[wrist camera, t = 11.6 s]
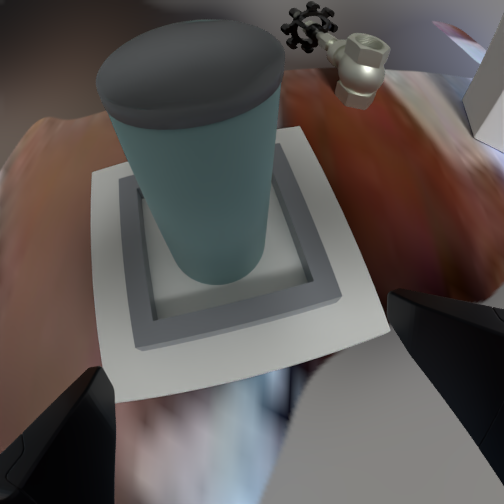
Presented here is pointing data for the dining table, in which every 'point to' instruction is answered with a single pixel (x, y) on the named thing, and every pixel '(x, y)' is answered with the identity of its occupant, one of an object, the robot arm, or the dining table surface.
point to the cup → (200, 137)
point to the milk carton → (488, 95)
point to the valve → (342, 55)
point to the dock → (227, 287)
